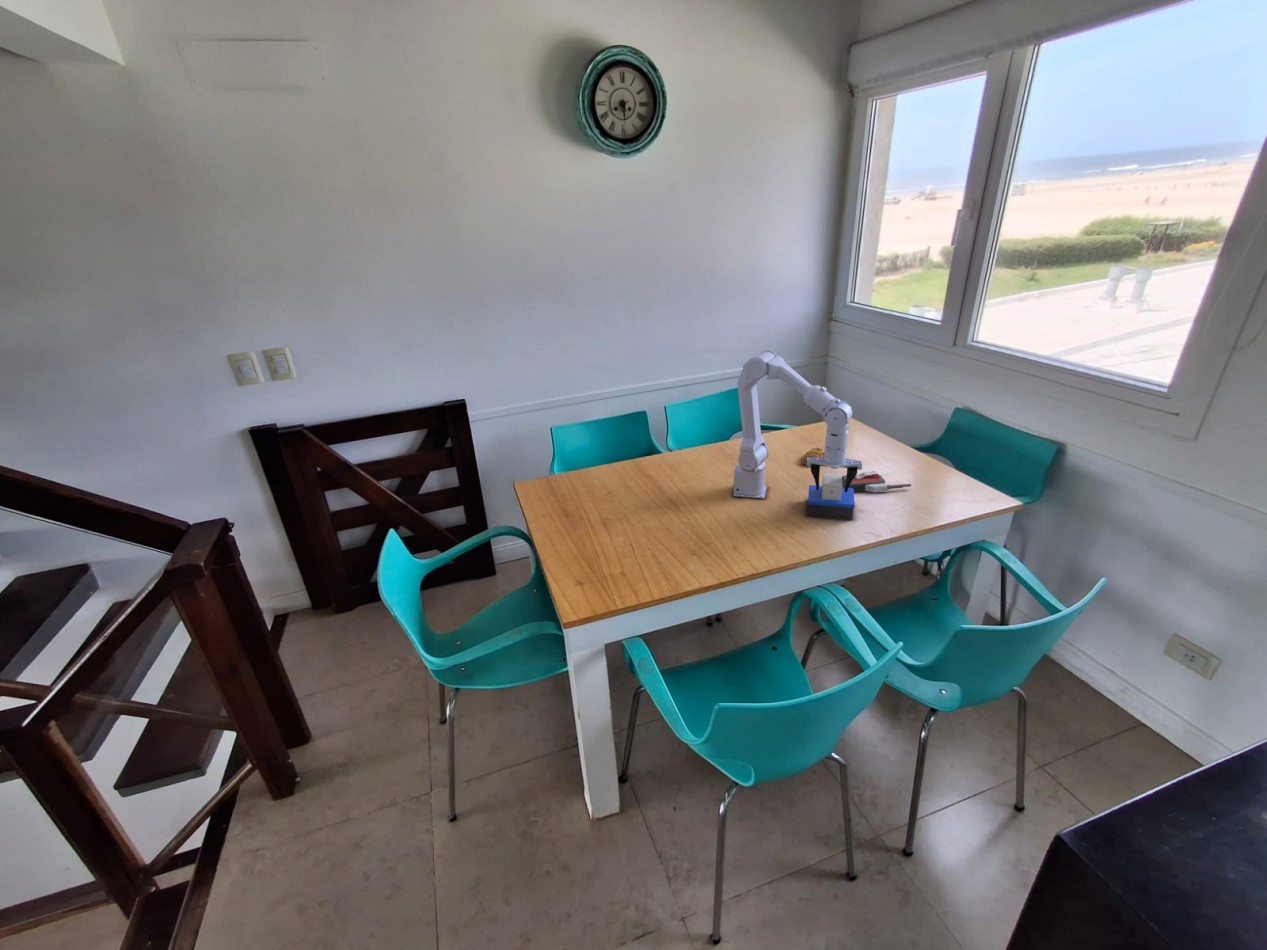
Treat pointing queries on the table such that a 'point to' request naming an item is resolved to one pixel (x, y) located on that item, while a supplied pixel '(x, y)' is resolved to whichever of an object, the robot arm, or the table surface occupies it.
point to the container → (830, 504)
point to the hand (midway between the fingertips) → (831, 489)
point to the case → (832, 487)
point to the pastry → (813, 454)
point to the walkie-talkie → (870, 483)
